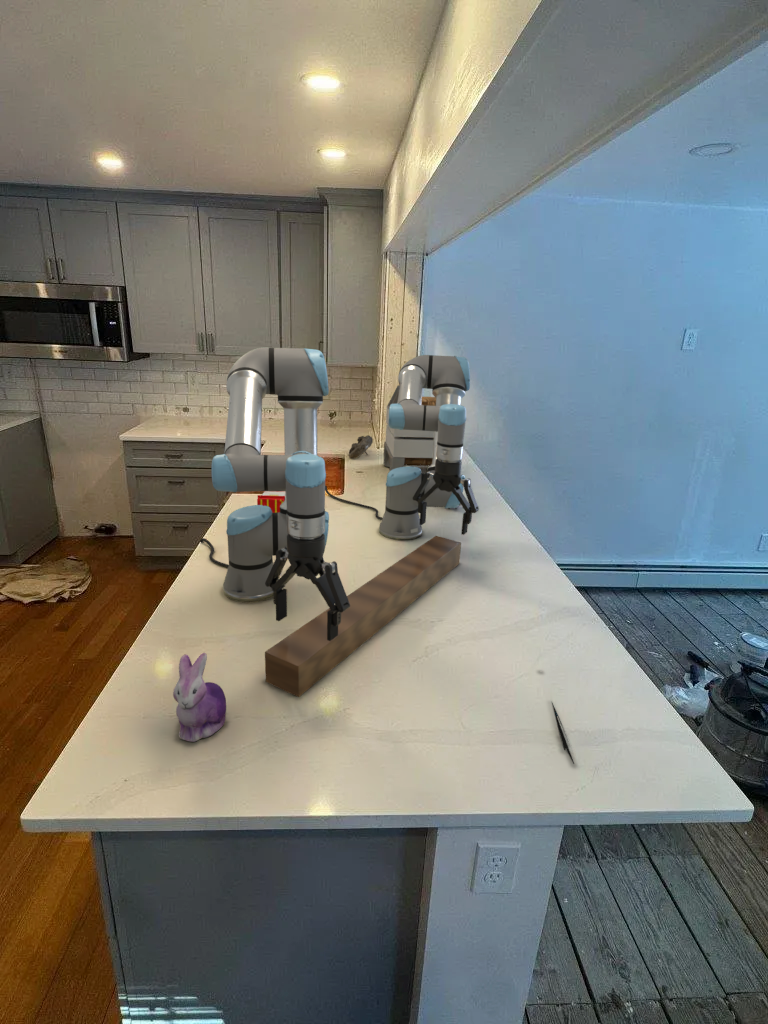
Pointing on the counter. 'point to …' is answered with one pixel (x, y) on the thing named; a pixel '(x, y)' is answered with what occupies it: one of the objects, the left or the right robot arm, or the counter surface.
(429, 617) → the counter surface
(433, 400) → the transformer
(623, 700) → the counter surface
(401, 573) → the long beam
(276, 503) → the toy
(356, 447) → the fossil
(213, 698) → the figurine
